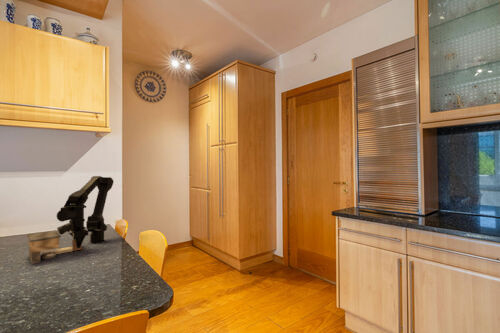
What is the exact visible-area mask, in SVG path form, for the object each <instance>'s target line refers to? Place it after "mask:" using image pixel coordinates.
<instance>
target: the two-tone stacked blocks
mask: <svg viewBox="0 0 500 333" xmlns="http://www.w3.org/2000/svg"><path fill="white" fill-rule="evenodd" d="M71 241H72V242H71V244H72V245H71V246H68V247H62V248H60V247H59V248H55V249H50V250H48V251H56V255H59V254H65V253H70V252H74V251H80V250H83V247H82V246H83V243H82V244H81V246H80V248H77V245H76V240H75V239H73V238H72V239H71ZM46 251H47V250H44V251H41V252H40V258H42V253H43V252H46Z"/></svg>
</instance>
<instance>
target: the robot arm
mask: <svg viewBox="0 0 500 333" xmlns="http://www.w3.org/2000/svg"><path fill="white" fill-rule="evenodd" d="M113 185H114V179H113V178H112V177H111V176H110V177H107V176H106V177H104V176H101V175H94V176H93V175H92V176H91V178H90V179H89V180H88V182H86V183H85V184H84V185H83V186H82V187H81V188H80V189H78V190H76V191H74V192H73V193H71V194H69V196H68V197H67V200H66V201H65V204H64V205H63V207H60V210H59V211H57V213H56V219H57V220H58V221H59V222H61V223H62V222H66V221H68V222H67V223H65V224H63V225H60V226H57V227H56V229H57V232H58V233H59V234H60V235H61V236H62V235H64V234H65V233H68V234H69V235H70V236H71V237H72V240H73V239H75V240H76V245H77V248H80V246H81V244H82V245H83V242H84V240H85V239H86V236H89V243H91V244H96V243H102V242H106V239H105V232H106V231H107V230H108V226H107V225H106V223H105V218H104V216H103V215H104V214H103V213H104V209H105V205H106V201H107V198H108V193H109V191H110V190H112V187H113ZM96 187H97V189H98V190H97V196H96V200H95V203H94V208H93V212H92V214H91V215H88V216H87V220H86V219H85V209H86V208H87V205H86V202H87V200H88V199H89V195H90V194H91V193H92V192H93V191H94V190H95V189H96ZM85 221H86V222H85ZM85 223H86V225H85ZM85 226H86V227H85ZM89 233H90V234H89Z"/></svg>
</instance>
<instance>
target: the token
mask: <svg viewBox="0 0 500 333" xmlns="http://www.w3.org/2000/svg"><path fill="white" fill-rule="evenodd" d="M45 251H46V252H43V251H42V252H43V253H42V252H41V253H42V257H41V258H42V259H43V260H49V259H53V258H56V256H57V254H56V251H49V250H45Z"/></svg>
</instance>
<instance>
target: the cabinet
mask: <svg viewBox="0 0 500 333" xmlns="http://www.w3.org/2000/svg"><path fill="white" fill-rule="evenodd" d="M61 236H62V235H60V234H59V232H58V231H56V230H50V231H49V230H48V231H43V232H42V231H41V232H36V233H29V234H27V238H28V258H29V261H30V263H31V264H32V265H33V264H37V263H41V252H43V251H49V250H55V249H60V238H61Z"/></svg>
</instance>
